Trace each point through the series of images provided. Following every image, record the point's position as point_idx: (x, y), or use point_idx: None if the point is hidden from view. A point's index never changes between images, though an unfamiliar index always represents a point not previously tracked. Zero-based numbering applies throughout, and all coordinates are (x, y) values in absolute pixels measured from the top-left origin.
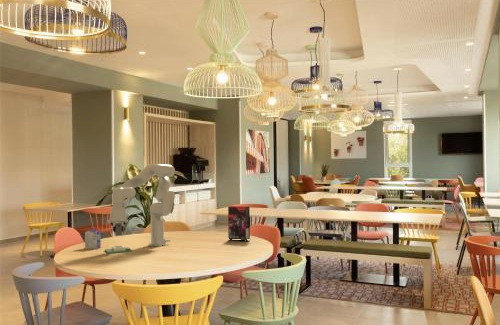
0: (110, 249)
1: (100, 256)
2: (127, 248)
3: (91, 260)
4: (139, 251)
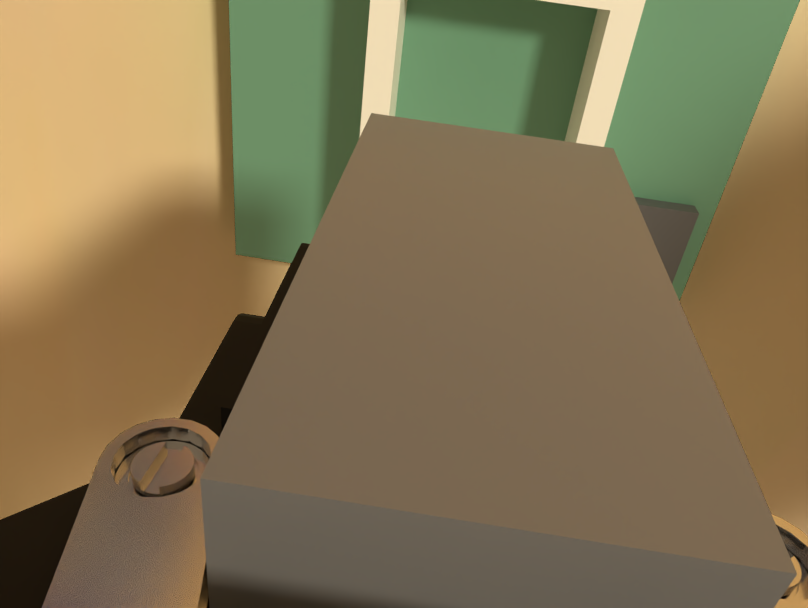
0: None
1: (125, 364)
2: (714, 85)
3: (24, 509)
4: (789, 338)
